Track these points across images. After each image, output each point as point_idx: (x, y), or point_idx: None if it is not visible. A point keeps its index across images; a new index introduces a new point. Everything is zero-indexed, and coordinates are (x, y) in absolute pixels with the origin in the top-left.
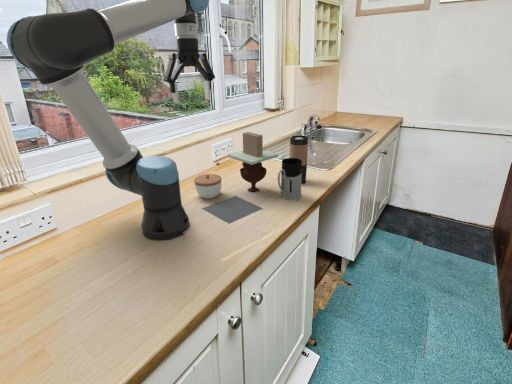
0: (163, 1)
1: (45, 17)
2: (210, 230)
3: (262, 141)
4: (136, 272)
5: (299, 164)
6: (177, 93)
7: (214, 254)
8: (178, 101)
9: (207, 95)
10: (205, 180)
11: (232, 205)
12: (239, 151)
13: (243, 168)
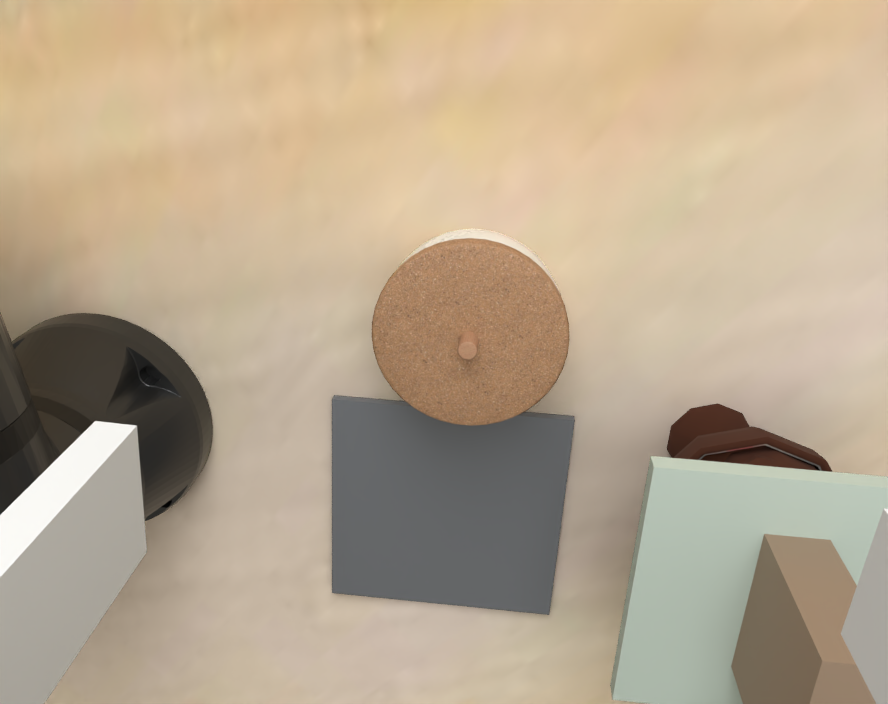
0: None
1: None
2: (248, 561)
3: None
4: None
5: None
6: (45, 674)
7: (168, 673)
8: (126, 563)
9: (881, 651)
10: (429, 362)
11: (469, 491)
12: (787, 481)
13: (741, 447)
